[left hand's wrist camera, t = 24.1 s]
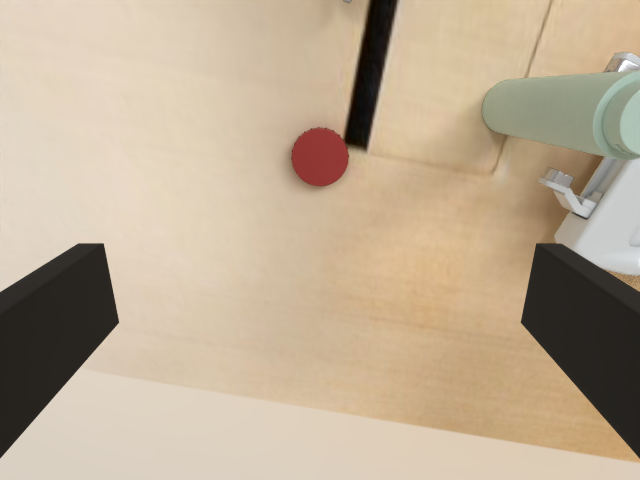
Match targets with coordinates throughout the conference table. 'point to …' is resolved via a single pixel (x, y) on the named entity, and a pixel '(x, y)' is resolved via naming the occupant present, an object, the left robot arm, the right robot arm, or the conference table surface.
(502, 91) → the green bottle
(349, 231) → the conference table surface
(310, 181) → the lid
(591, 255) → the right robot arm
